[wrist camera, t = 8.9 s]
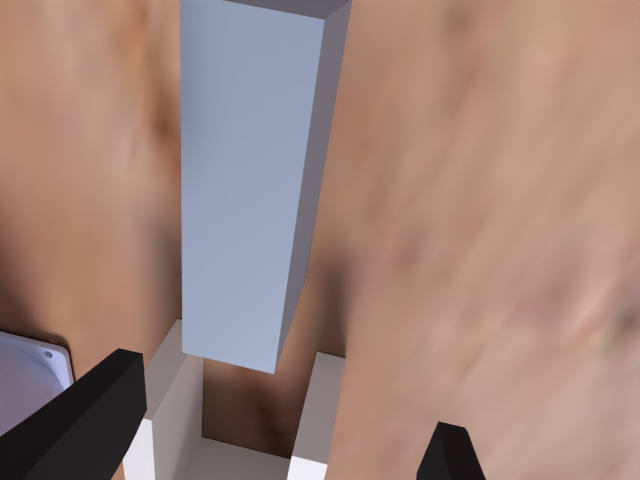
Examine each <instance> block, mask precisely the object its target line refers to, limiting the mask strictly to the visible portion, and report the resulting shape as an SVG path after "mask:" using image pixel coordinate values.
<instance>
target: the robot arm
mask: <svg viewBox="0 0 640 480" xmlns="http://www.w3.org/2000/svg"><path fill="white" fill-rule="evenodd" d="M146 411H147V399H146V387H145V375H144V363H143V354H142V353H137V352H133V351H129V350H124V349H120V348H119V349H117V350H115V351H114V352H113V353H111V354H110V355H109V356H107V357H106V358H105V359H104V360H102V361H101V362H100V363H99V364H97V365H96V366H95V367H94V368H92V369H91V370H90V371H89V372H87V373H86V374H85V375H83V376H82V377H81V378H80V379H78V380H77V381H76V382H74V381H73V376H72V370H71V365H70V359H69V354H68V352H67V350H66V349H65V348H63V347H61V346H58V345H54V344H49V343H45V342H41V341H37V340H33V339H29V338H25V337H21V336H17V335H13V334H8V333H4V332H0V480H111V478H112V477H113V475H114V473H115V472H116V470H117V468H118V467H119V465H120V463H121V462H122V460H123V458H124V457H125V455H126V453H127V451H128V450H129V448H130V446H131V444H132V441H133V439H134V437H135V435H136V433H137V431H138V429H139V426H140V424H141V422H142V420H143V418H144V415H145V413H146ZM416 480H486V479H485V476H484V474H483V471H482V469H481V466H480V464H479V461H478V458H477V456H476V453H475V450H474V448H473V445H472V442H471V439H470V437H469V434H468V431H467V430H466V429H465V427H460V426H456V425H451V424H447V423H443V422H438V424H437V426H436V429H435V431H434V433H433V436H432V438H431V440H430V443H429V445H428V448H427V450H426V452H425V455H424V457H423V459H422V462H421V464H420V466H419V469H418V471H417V478H416Z"/></svg>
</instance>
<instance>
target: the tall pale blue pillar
mask: <svg viewBox="0 0 640 480" xmlns="http://www.w3.org/2000/svg"><path fill="white" fill-rule="evenodd" d="M351 3H352V0H180V39H181V204H182V352H183V353H187V354H191V355H196V356H200V357H204V358H208V359H212V360H217V361H221V362H225V363H229V364H233V365H238V366H242V367H246V368H250V369H254V370H259V371H263V372H267V373H271V374H274V373H275V370H276V367H277V364H278V361H279V358H280V355H281V352H282V349H283V346H284V343H285V340H286V337H287V334H288V331H289V328H290V325H291V322H292V318H293V315H294V312H295V309H296V306H297V303H298V300H299V297H300V294H301V291H302V288H303V285H304V282H305V277H306V271H307V265H308V259H309V253H310V247H311V242H312V236H313V230H314V224H315V218H316V212H317V206H318V200H319V194H320V188H321V182H322V176H323V170H324V164H325V158H326V152H327V146H328V140H329V134H330V128H331V122H332V116H333V110H334V104H335V98H336V92H337V86H338V80H339V74H340V68H341V62H342V56H343V50H344V45H345V39H346V33H347V27H348V21H349V15H350V9H351Z"/></svg>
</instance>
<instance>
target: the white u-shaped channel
mask: <svg viewBox="0 0 640 480" xmlns="http://www.w3.org/2000/svg"><path fill="white" fill-rule="evenodd" d="M345 359H346V358H342V357H337V356H333V355H329V354H325V353H320V352H317V354H316V358H315V362H314V366H313V370H312V374H311V379H310V383H309V387H308V391H307V395H306V399H305V403H304V407H303V412H302V416H301V420H300V424H299V428H298V432H297V436H296V440H295V445H294V449H293V453H292V457H291V459H287V458H283V457H279V456H275V455H271V454H267V453H263V452H259V451H255V450H251V449H247V448H243V447H239V446H235V445H231V444H227V443H223V442H219V441H215V440H211V439H207V438H203V437H202V404H203V371H204V357H200V356H196V355H191V354H187V353H183V352H182V320H181V319H177V320H176V322H175V323H174V325H173V326H172V328H171V329H170V331H169V332H168V334H167V336H166V337H165V339H164V340H163V342H162V343H161V345H160V346H159V348H158V350H157V351H156V353H155V354H154V356H153V357H152V359H151V360H150V362H149V364H148V365H147V367H146V368H145V370H144V375H145V387H146V399H147V411H146V413H145V415H144V418H143V420H142V422H141V424H140V426H139V429H138V431H137V433H136V435H135V437H134V439H133V441H132V444H131V446H130V448H129V450H128V451H127V453H126V455H125V457H124V458H123V465H124V474H125V480H324V476H325V473H326V469H327V465H328V460H329V454H330V448H331V442H332V436H333V430H334V424H335V418H336V412H337V406H338V401H339V395H340V389H341V383H342V377H343V371H344V365H345Z"/></svg>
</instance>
